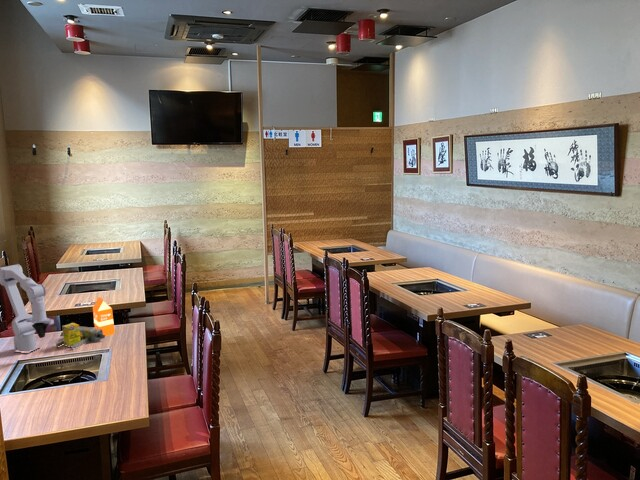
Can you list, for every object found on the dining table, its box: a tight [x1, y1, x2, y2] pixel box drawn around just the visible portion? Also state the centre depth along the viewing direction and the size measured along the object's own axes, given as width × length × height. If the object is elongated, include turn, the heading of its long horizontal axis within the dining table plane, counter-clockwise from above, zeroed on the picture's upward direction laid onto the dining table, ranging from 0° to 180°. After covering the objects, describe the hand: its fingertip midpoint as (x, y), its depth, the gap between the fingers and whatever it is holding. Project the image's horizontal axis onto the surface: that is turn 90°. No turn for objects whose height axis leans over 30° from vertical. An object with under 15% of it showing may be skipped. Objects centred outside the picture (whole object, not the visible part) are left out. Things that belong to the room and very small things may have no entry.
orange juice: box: [92, 296, 115, 337], centre depth 269 cm, size 8×9×20 cm
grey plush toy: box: [55, 325, 106, 349], centre depth 258 cm, size 21×17×6 cm
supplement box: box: [61, 322, 81, 347], centre depth 255 cm, size 6×6×11 cm
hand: (42, 337), depth 239 cm, fingers closed
